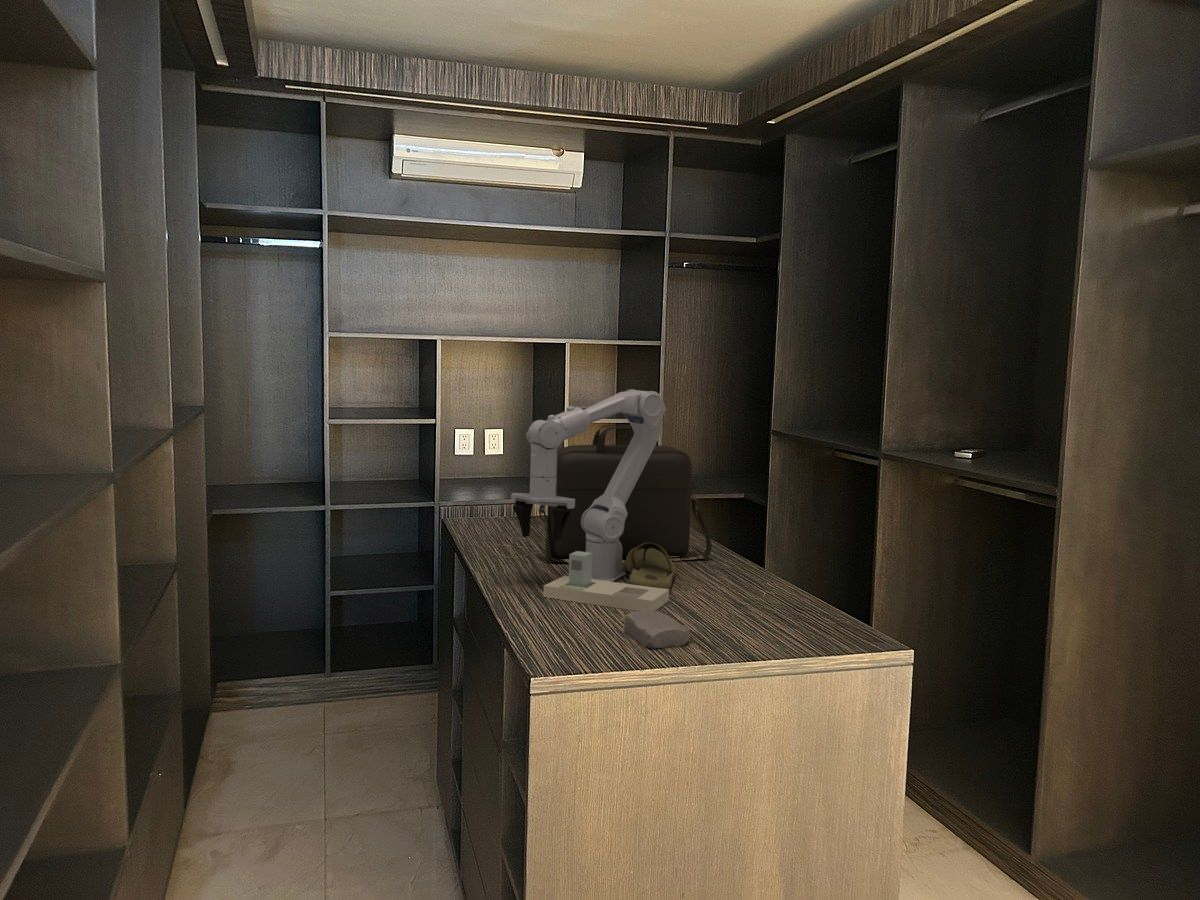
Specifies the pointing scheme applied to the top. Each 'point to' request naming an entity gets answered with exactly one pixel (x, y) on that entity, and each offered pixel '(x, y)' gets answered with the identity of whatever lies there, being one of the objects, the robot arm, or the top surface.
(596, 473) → the laptop bag
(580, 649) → the top surface
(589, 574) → the plug
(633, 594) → the jack block
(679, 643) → the stone block
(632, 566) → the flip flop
